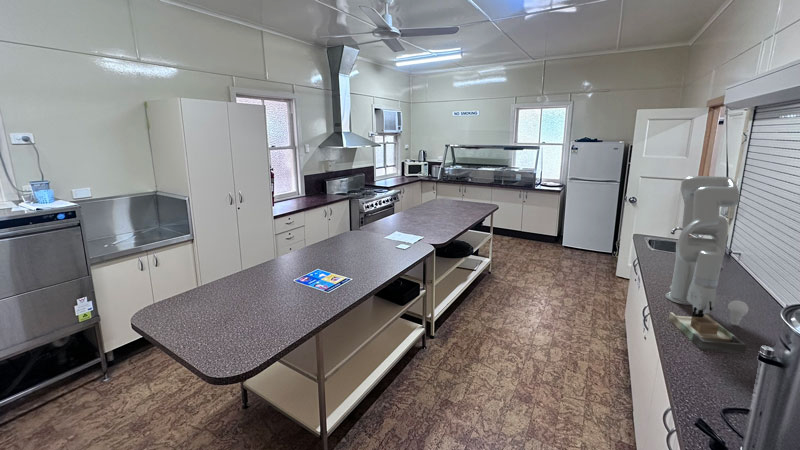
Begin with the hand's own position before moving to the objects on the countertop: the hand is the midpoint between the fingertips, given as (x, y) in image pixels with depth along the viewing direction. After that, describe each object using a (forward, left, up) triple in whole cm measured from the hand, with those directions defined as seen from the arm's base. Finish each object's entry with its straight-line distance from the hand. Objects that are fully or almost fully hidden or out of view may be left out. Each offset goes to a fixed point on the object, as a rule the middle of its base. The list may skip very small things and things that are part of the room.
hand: (696, 321), depth 145 cm
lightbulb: (-5, +17, -3) cm, 18 cm away
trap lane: (+6, 0, -3) cm, 7 cm away
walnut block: (+5, 0, -1) cm, 5 cm away
